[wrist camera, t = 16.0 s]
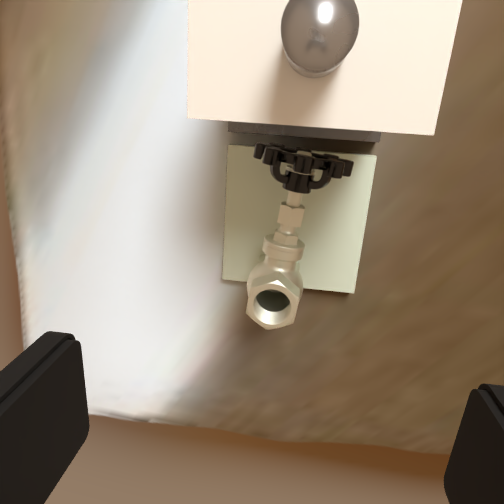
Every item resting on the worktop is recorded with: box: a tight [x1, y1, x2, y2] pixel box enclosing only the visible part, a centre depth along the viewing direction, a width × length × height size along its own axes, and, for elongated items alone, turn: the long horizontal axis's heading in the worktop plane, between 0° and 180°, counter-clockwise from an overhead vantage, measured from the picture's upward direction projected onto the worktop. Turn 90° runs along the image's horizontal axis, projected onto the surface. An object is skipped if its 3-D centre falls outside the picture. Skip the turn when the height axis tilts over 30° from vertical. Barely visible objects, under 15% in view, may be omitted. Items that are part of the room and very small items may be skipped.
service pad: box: [222, 144, 377, 293], centre depth 31 cm, size 11×11×1 cm
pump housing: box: [187, 0, 462, 142], centre depth 20 cm, size 8×11×17 cm
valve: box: [246, 142, 354, 330], centre depth 28 cm, size 7×7×12 cm
